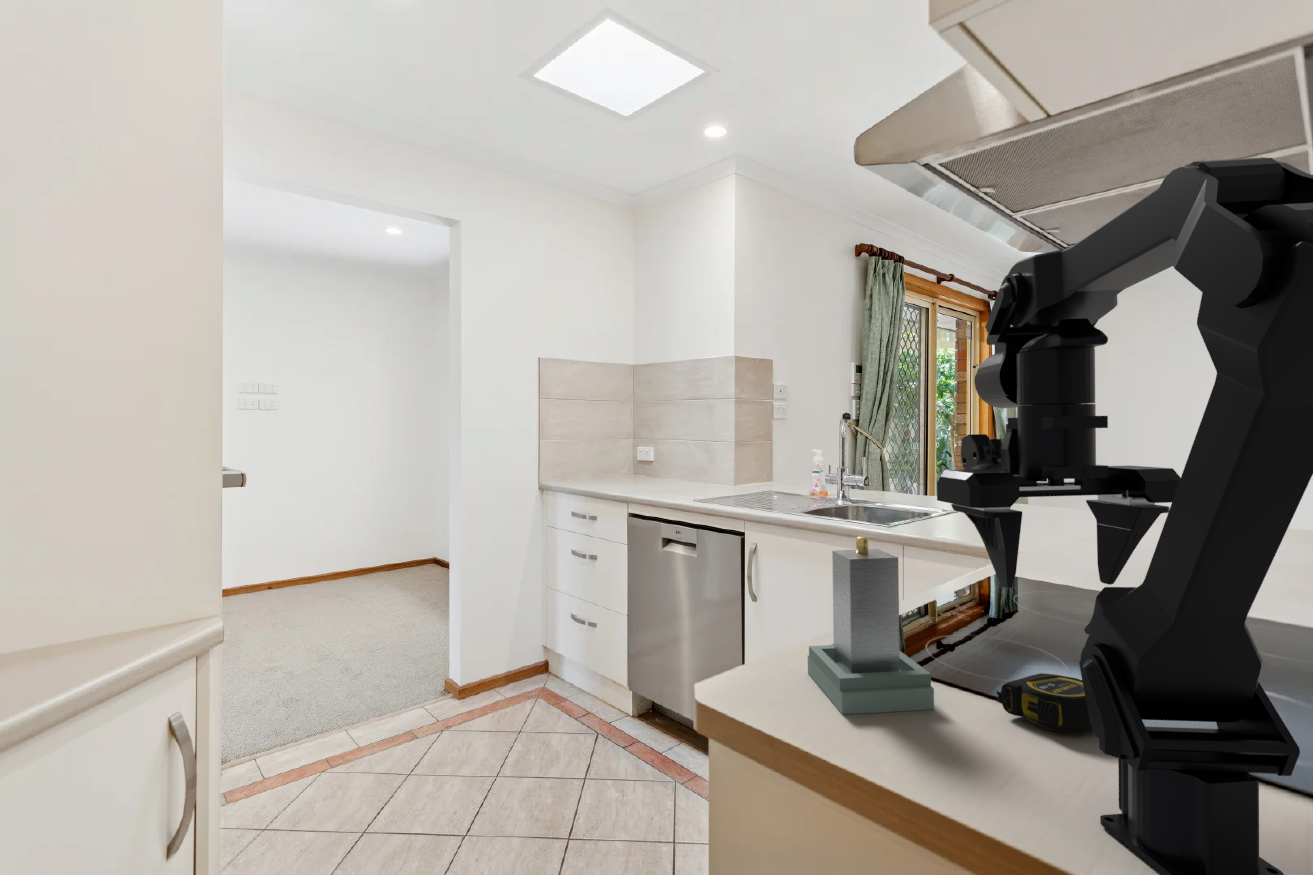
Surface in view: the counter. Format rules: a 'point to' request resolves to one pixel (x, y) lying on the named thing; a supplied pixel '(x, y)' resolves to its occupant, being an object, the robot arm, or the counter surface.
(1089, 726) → the tape measure
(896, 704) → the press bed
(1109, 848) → the counter surface
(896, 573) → the housing
